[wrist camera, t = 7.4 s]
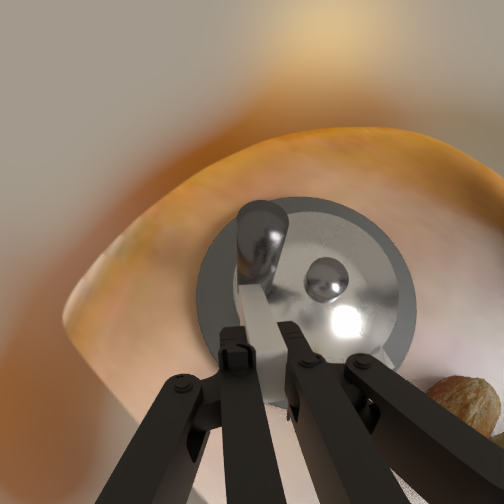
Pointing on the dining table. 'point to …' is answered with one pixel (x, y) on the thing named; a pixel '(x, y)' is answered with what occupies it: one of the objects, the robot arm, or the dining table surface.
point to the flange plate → (355, 302)
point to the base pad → (224, 262)
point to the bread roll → (469, 401)
